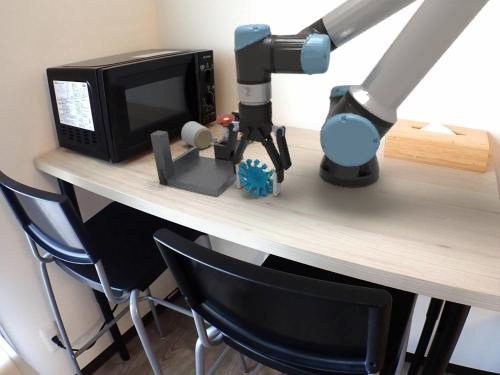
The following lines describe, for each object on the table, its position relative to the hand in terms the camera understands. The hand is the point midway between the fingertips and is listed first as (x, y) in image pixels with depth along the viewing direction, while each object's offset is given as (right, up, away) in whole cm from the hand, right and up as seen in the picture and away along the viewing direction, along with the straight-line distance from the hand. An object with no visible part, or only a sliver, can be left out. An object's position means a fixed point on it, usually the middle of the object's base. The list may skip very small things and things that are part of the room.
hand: (258, 189), depth 92 cm
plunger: (-8, +12, +14) cm, 21 cm away
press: (-13, +5, +11) cm, 17 cm away
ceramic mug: (-18, +14, +30) cm, 38 cm away
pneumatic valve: (-3, +16, +31) cm, 35 cm away
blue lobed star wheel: (0, 0, 0) cm, 1 cm away
